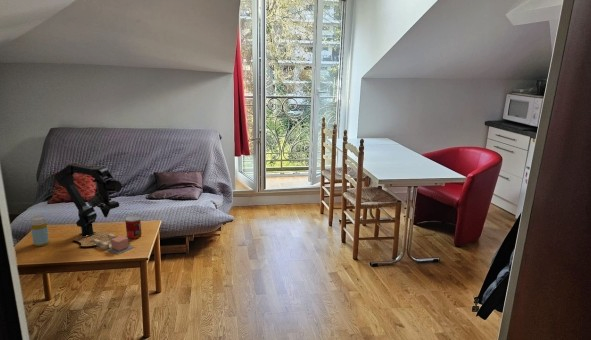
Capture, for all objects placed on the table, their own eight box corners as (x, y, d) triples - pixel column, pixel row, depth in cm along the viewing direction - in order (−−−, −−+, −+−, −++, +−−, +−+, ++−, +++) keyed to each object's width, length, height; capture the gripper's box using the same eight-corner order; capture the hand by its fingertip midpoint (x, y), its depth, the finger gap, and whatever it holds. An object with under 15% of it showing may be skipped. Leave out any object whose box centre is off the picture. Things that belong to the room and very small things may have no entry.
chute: (93, 244, 220) (92, 239, 219) (110, 238, 228) (109, 233, 228) (106, 250, 214) (106, 245, 213) (123, 243, 222) (123, 238, 222)
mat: (107, 250, 214) (107, 249, 214) (124, 243, 222) (124, 243, 222) (117, 254, 209) (117, 253, 209) (134, 247, 218) (134, 246, 218)
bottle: (52, 242, 221) (48, 216, 217) (39, 247, 215) (35, 221, 211) (43, 240, 224) (39, 214, 220) (31, 245, 218) (26, 218, 214)
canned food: (136, 239, 227) (135, 221, 224) (123, 238, 228) (122, 220, 225) (144, 234, 234) (143, 216, 231) (131, 233, 236) (130, 215, 233)
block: (111, 248, 215) (110, 239, 214) (121, 244, 220) (121, 235, 218) (119, 251, 212) (118, 242, 210) (129, 246, 217) (128, 238, 215)
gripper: (78, 190, 220) (82, 218, 224) (99, 197, 211) (102, 225, 215) (97, 185, 230) (100, 212, 234) (118, 191, 220) (121, 219, 224)
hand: (105, 217), depth 226 cm, fingers closed
